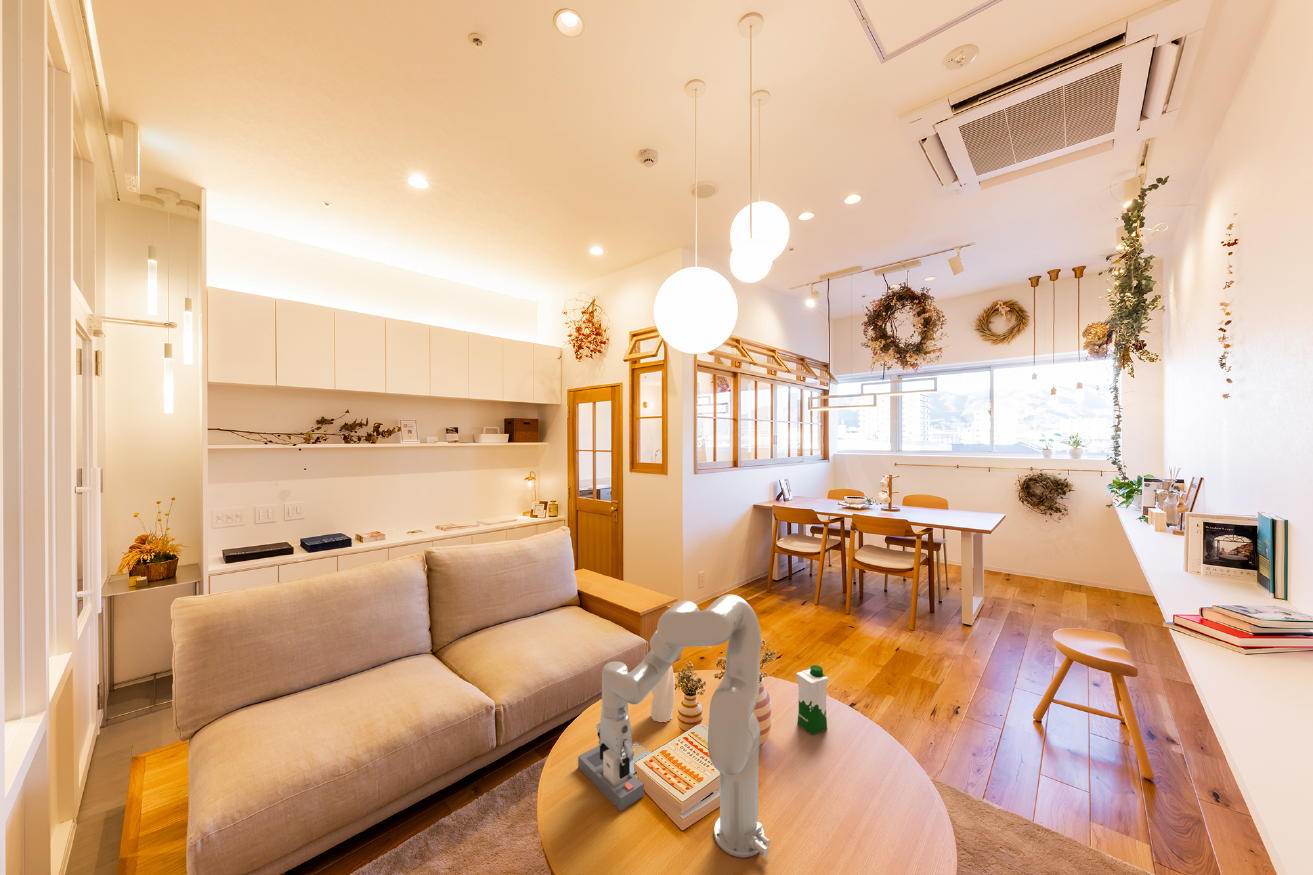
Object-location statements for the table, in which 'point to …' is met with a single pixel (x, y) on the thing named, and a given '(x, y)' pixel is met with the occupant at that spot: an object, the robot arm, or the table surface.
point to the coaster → (637, 756)
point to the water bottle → (663, 698)
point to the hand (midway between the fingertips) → (614, 766)
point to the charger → (612, 768)
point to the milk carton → (812, 699)
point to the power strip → (619, 795)
